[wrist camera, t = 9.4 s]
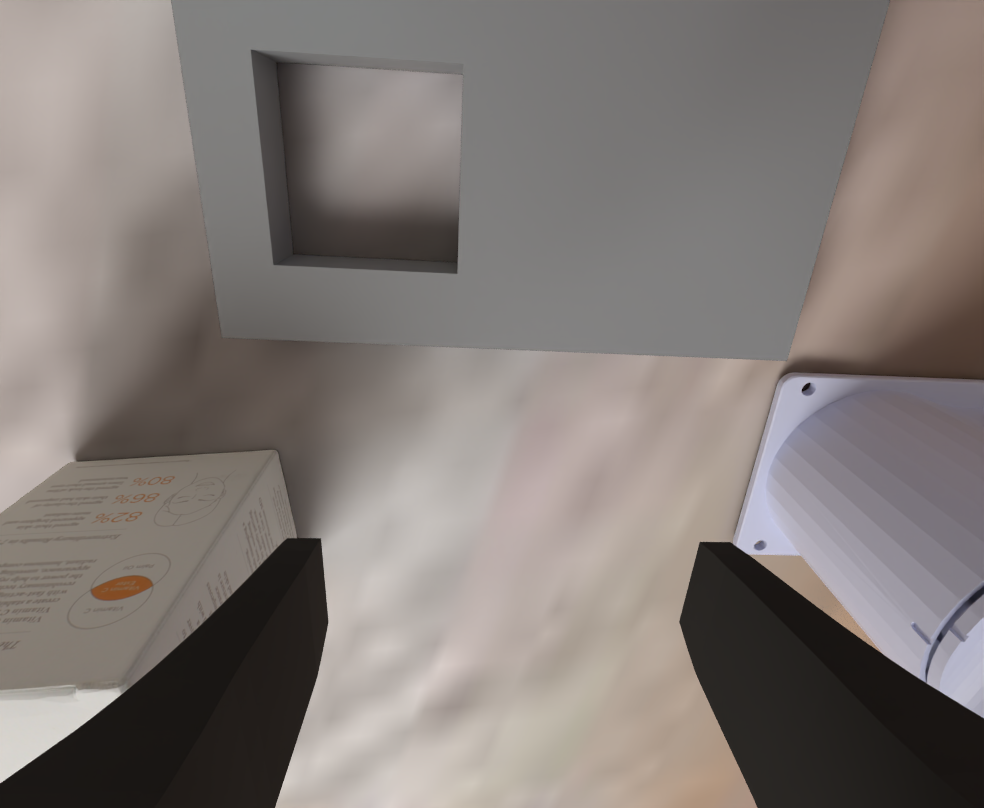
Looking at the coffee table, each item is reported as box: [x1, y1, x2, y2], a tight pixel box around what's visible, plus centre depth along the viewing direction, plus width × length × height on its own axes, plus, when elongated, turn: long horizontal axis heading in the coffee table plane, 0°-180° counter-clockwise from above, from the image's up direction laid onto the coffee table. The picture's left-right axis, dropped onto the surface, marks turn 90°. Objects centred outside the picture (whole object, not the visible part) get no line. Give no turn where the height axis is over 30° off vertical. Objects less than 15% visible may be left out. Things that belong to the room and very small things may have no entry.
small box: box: [0, 450, 297, 783], centre depth 17 cm, size 8×6×10 cm
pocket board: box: [171, 0, 890, 361], centre depth 16 cm, size 18×10×2 cm, turn 87°
